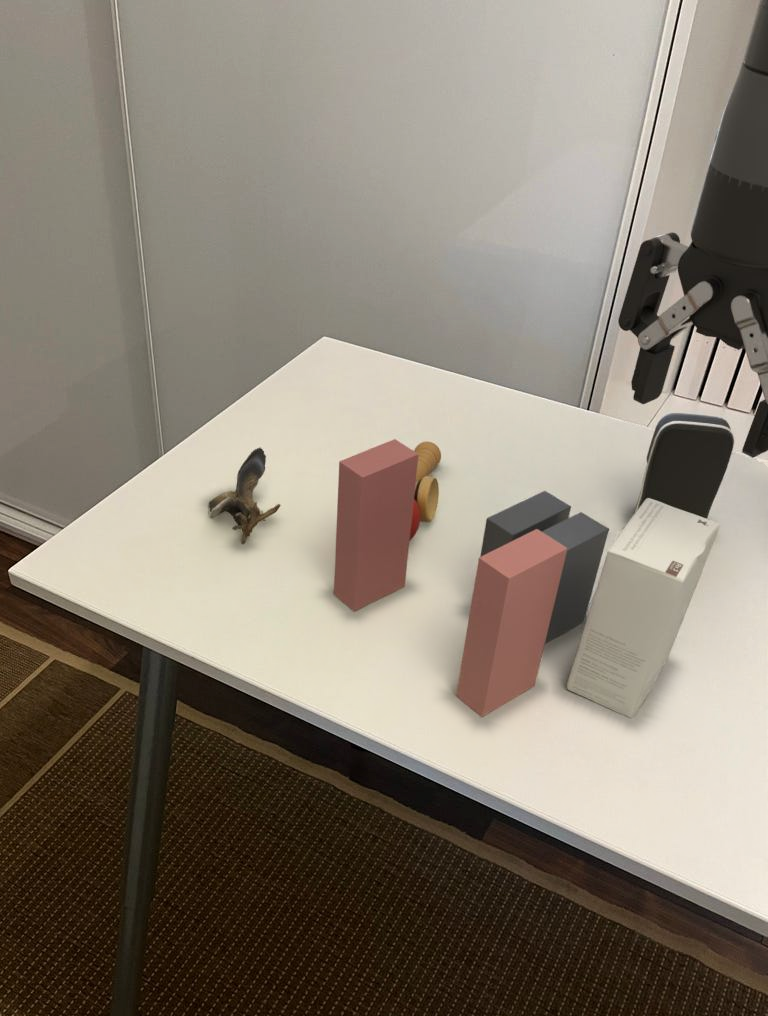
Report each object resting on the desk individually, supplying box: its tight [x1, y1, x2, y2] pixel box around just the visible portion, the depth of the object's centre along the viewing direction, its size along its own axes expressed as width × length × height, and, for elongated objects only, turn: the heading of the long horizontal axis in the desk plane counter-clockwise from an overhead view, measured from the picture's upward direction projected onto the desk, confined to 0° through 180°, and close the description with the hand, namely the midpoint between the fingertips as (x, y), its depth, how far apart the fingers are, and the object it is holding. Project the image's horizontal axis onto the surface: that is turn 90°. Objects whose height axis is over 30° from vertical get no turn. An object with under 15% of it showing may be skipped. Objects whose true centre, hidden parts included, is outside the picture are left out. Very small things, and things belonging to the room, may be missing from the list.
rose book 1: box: [333, 438, 419, 612], centre depth 84 cm, size 6×3×14 cm, turn 126°
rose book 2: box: [455, 529, 567, 718], centre depth 74 cm, size 6×3×14 cm, turn 126°
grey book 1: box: [479, 490, 572, 557], centre depth 84 cm, size 7×3×10 cm, turn 126°
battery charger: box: [633, 412, 735, 519], centre depth 93 cm, size 7×4×11 cm, turn 78°
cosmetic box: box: [566, 498, 721, 719], centre depth 75 cm, size 8×6×15 cm
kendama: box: [410, 441, 442, 541], centre depth 97 cm, size 8×6×18 cm
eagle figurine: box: [208, 446, 281, 545], centre depth 95 cm, size 8×7×9 cm
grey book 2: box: [542, 511, 610, 645], centre depth 81 cm, size 7×3×10 cm, turn 126°
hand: (698, 424), depth 64 cm, fingers open, 8 cm apart
